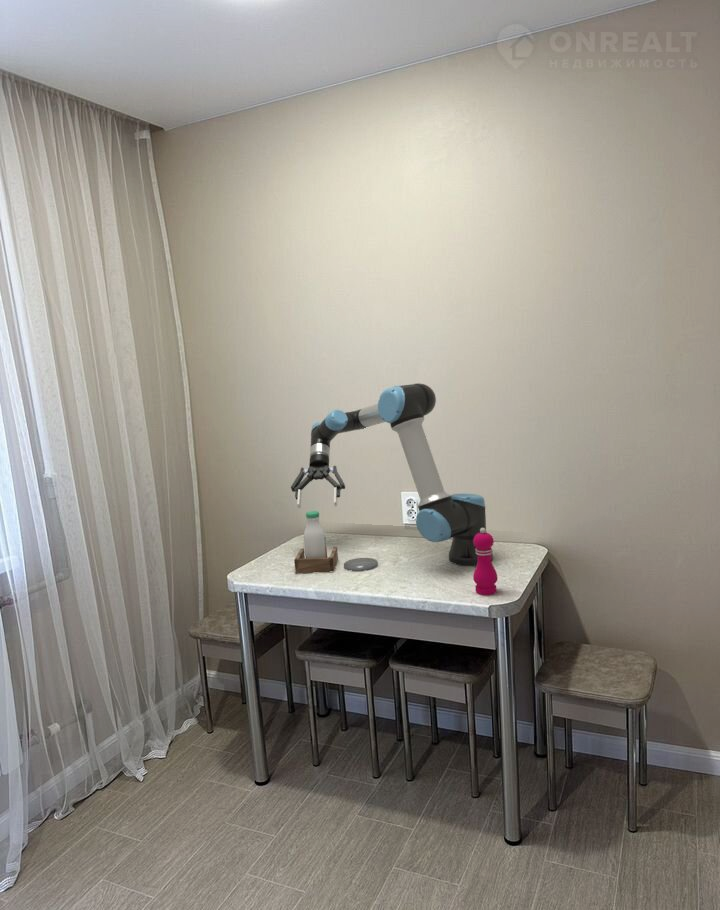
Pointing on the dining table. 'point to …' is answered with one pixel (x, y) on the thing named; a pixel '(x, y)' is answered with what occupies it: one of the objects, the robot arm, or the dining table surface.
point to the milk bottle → (314, 537)
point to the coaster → (361, 564)
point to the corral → (315, 563)
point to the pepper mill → (484, 564)
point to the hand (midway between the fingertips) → (317, 505)
